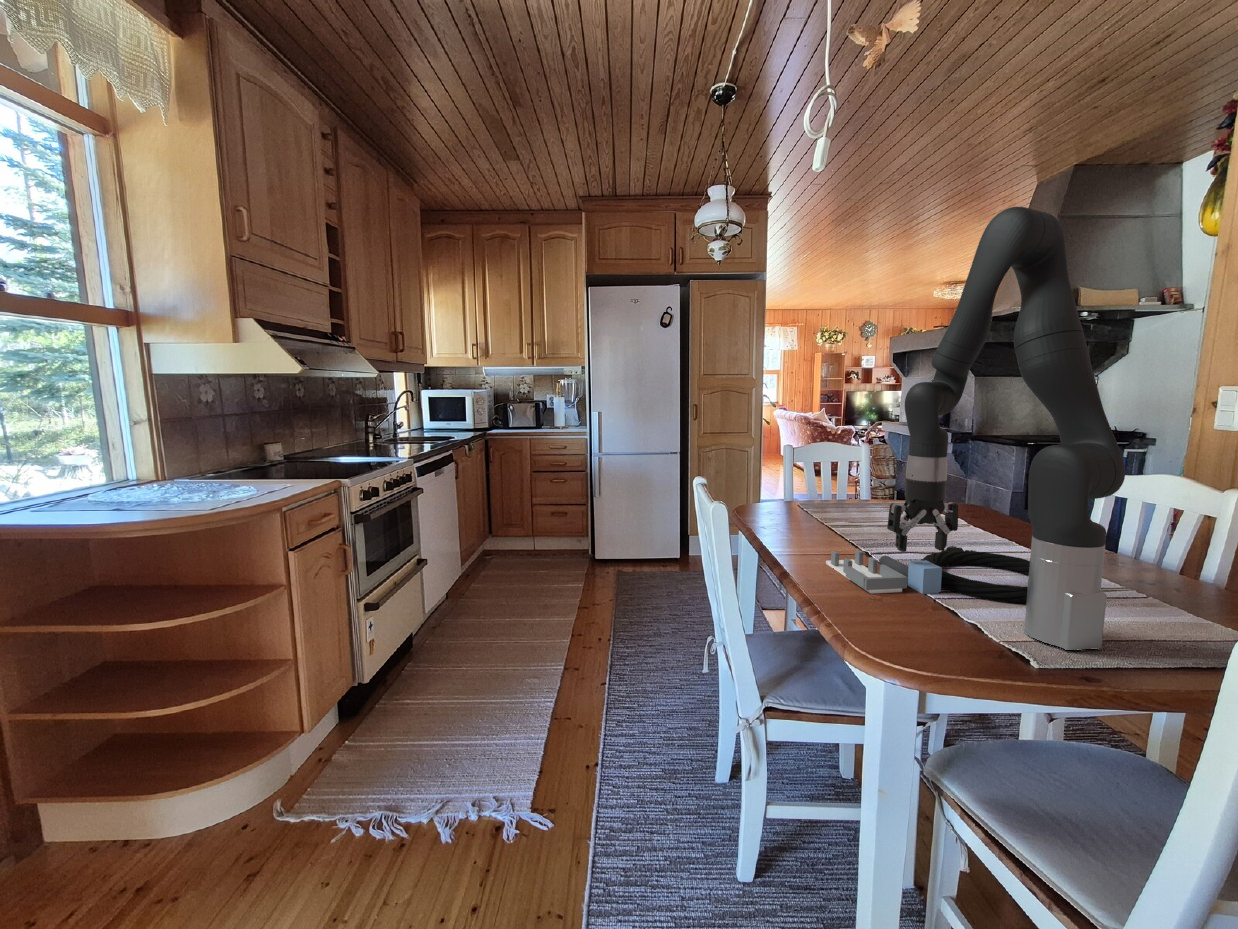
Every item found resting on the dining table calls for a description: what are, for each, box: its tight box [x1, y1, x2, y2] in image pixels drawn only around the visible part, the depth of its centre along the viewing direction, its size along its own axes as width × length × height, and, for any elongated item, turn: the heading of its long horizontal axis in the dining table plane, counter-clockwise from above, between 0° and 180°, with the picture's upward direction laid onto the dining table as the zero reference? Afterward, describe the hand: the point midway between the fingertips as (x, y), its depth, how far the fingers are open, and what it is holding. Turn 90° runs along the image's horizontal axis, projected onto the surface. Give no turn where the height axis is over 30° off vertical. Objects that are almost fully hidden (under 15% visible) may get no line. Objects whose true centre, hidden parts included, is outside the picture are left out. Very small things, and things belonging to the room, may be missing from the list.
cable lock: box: [919, 545, 1030, 605], centre depth 116 cm, size 28×4×30 cm
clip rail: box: [825, 549, 908, 595], centre depth 119 cm, size 20×9×4 cm, turn 4°
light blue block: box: [878, 555, 943, 595], centre depth 117 cm, size 17×4×6 cm, turn 4°
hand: (920, 550), depth 112 cm, fingers open, 8 cm apart
